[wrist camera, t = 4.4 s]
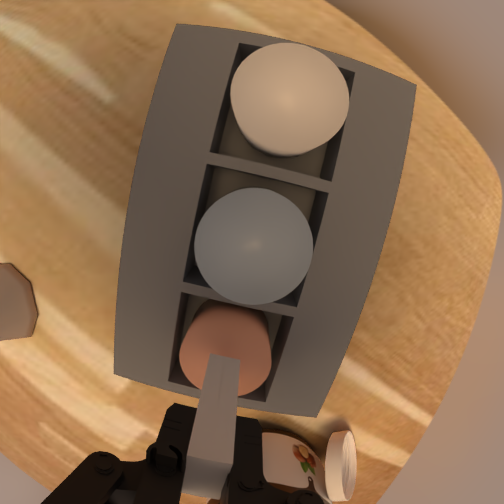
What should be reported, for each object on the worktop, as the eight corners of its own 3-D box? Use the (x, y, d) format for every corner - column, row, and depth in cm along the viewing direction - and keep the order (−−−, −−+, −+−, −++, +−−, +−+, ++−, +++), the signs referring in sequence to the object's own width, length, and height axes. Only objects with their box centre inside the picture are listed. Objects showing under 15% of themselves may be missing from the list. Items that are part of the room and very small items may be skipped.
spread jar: (201, 446, 25) (183, 549, 13) (292, 382, 23) (312, 506, 11) (288, 490, 26) (295, 575, 15) (373, 439, 24) (408, 531, 13)
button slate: (218, 177, 17) (207, 176, 13) (310, 199, 17) (326, 205, 13) (199, 266, 18) (185, 290, 14) (287, 286, 18) (295, 314, 14)
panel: (189, 49, 17) (176, 23, 13) (390, 99, 18) (416, 84, 14) (132, 346, 22) (113, 373, 18) (308, 384, 23) (316, 417, 19)
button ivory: (248, 62, 15) (246, 32, 11) (336, 85, 15) (357, 61, 12) (226, 146, 16) (217, 135, 12) (318, 168, 17) (336, 165, 13)
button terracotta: (198, 286, 20) (186, 311, 16) (277, 304, 20) (282, 332, 16) (186, 352, 21) (174, 385, 17) (258, 368, 21) (258, 403, 17)
